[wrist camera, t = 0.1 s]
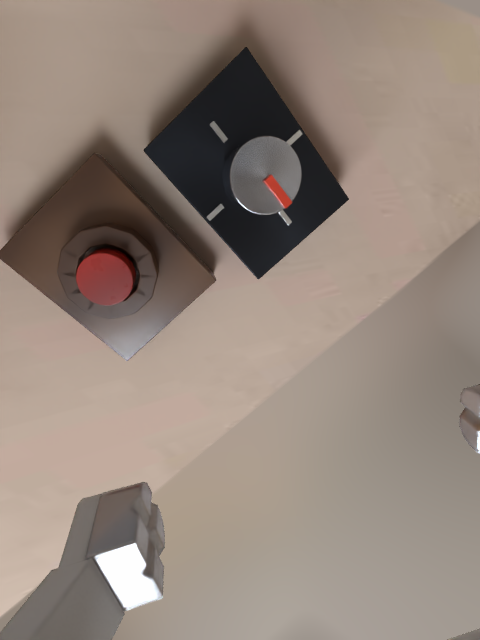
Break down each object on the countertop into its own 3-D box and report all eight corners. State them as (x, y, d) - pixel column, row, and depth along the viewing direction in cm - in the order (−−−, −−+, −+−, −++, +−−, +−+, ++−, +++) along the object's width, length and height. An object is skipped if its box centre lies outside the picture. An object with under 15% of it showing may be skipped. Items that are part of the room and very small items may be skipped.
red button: (70, 272, 25) (63, 279, 23) (107, 236, 25) (102, 241, 23) (111, 307, 26) (107, 315, 25) (146, 274, 26) (144, 281, 24)
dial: (208, 173, 25) (214, 172, 21) (257, 126, 24) (273, 116, 20) (249, 222, 26) (262, 230, 22) (296, 179, 26) (317, 180, 22)
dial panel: (146, 152, 26) (142, 150, 23) (238, 60, 25) (246, 45, 22) (251, 270, 31) (258, 280, 28) (333, 196, 30) (350, 199, 27)
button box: (8, 249, 27) (-18, 260, 23) (100, 154, 26) (88, 151, 22) (130, 349, 32) (124, 372, 28) (213, 273, 30) (219, 286, 27)
